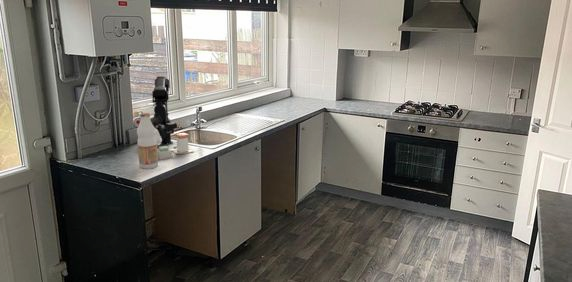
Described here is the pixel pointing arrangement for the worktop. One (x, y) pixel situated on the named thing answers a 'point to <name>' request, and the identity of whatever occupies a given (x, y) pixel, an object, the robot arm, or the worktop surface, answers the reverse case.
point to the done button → (163, 148)
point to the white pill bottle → (182, 142)
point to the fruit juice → (147, 143)
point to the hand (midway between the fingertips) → (162, 139)
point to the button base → (164, 154)
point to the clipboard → (180, 152)
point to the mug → (157, 137)
